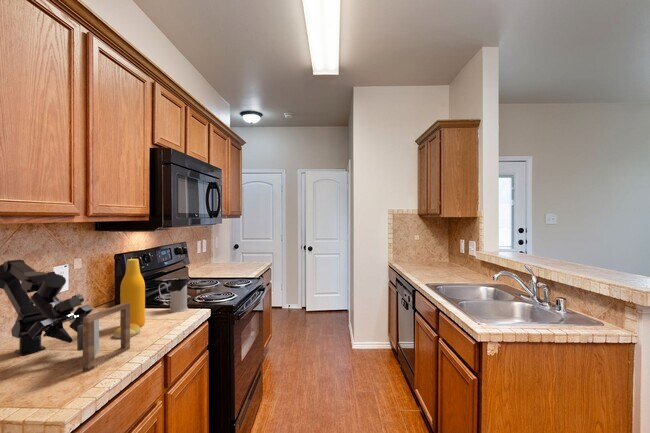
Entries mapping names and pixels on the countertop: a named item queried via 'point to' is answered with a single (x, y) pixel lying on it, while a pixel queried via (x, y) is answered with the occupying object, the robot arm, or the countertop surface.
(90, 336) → the door frame
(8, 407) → the countertop surface
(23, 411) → the countertop surface
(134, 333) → the bread roll
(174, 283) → the grey cylinder with handle
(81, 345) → the door
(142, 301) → the beer bottle
